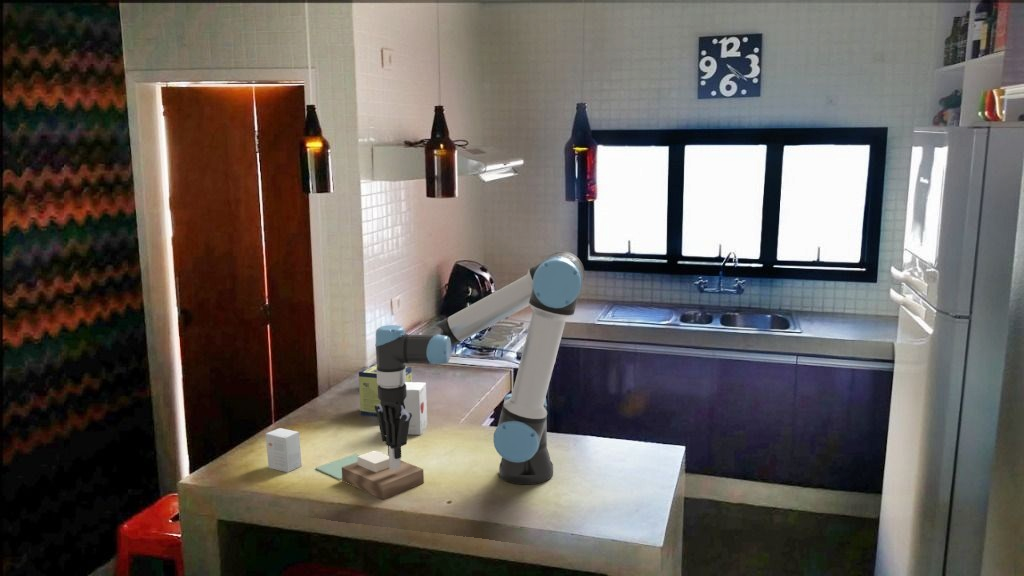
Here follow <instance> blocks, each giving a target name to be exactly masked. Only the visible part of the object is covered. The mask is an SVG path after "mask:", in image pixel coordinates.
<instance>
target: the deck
mask: <svg viewBox="0 0 1024 576" xmlns="http://www.w3.org/2000/svg"><path fill="white" fill-rule="evenodd" d="M384 454H385V453H384ZM385 455H388V454H385ZM388 456H389V455H388ZM341 481H342V482H343V481H344V483H345V482H347V483H346V484H348V483H349V484H348V485H350V484H351V485H350V486H352V485H353V486H352V487H354V486H355V488H356V487H357V489H359V490H361V489H362V490H361V491H363V492H365V491H366V492H365V493H368V494H370V495H372V496H374V497H377V498H379V499H381V500H386V499H388V498H390V497H392V496H395V495H397V494H400V493H403V492H405V491H408V490H411V489H413V488H415V487H417V486H420V485H422V484H424V483H425V480H424V468H421V467H420V466H419V467H418V466H416V465H413V464H411V463H410V462H407V461H404V460H401V468H399V469H397V470H394V471H392V470H390V468H386V469H384V470H381V471H378V472H373V471H371V470H369V469H366V468H364V467H361V466H359V465H358V462H355V463H353V464H350V465H347V466H344V467H342V480H341Z"/></svg>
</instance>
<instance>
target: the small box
mask: <svg viewBox="0 0 1024 576" xmlns="http://www.w3.org/2000/svg"><path fill="white" fill-rule="evenodd" d="M265 443H266V453H267V455H266V456H267V466H268V468H269V469H272V470H276V471H281V472H284V473H290V472H292V471H294V470H296V469H298V468H300V467H302V455H301V454H302V452H301V451H302V450H301V441H300V432H299V431H296V430H292V429H291V430H290V429H286V428H282V427H281V428H280V427H279V428H278V427H277V428H276V429H274V430H271V431H268V432H266V433H265Z"/></svg>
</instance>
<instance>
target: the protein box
mask: <svg viewBox="0 0 1024 576" xmlns="http://www.w3.org/2000/svg"><path fill="white" fill-rule="evenodd" d="M405 372H406V382H413V379H412V378H413V377H412V376H413V375H412V367H411V366H406V368H405ZM358 386H359V387H358V389H359V391H358V392H359V407H360V408H359V410H360V412H359V414H360V416H368V417H376V418H378V417H377V413H376V411H375V406H377V405H379V404H380V401H381V400H379V399H378V383H377V363H376V364H373V363H372V364H371V365H369V366H367V367H366V368H364V369H362V370H360V371H358Z"/></svg>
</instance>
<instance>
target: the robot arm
mask: <svg viewBox="0 0 1024 576" xmlns="http://www.w3.org/2000/svg"><path fill="white" fill-rule="evenodd" d="M584 281H585V268H584V265H583V263H582V261H581V259H580V258H579V257H577V255H575V254H573V253H571V252H568V251H557V252H553V253H551V254H549V255H548V256H547V257H546V258H545V259H543V260H542V261H540V262H538V264H536V265H534V266H533V267H531V268H529V269H528V270H527V274H526V275H524V276H522V277H520V278H518V279H517V280H515V281H512V282H511V283H509V284H507V285H505V286H503V287H501V288H500V289H498V290H496V291H494V292H493V293H491V294H489V295H487V296H485V297H483V298H481V299H479V300H478V301H475V302H474V303H472V304H470V305H469V306H466V307H464V308H463V309H461V310H459V311H457V312H455V313H454V314H452V315H450V316H448V317H447V318H445V319H443V320H440V321H436V322H435V323H433V324H431V325H430V327H428V329H426V331H425V332H424V333H422V334H408V333H406V332H405V329H404V327H403V326H402V325H397V324H387V325H383V326H380V327H378V328H377V329H376V331H375V344H374V346H375V356H376V364H377V383H378V399H379V400H381V401H380V404H379V405H377V406H375V411H376V413H377V417H376V418H377V421H378V426H379V431H380V437H381V442H385V443H386V445H387V455H389V468H390V470H392V471H394V470H397V469H399V468H401V461H402V459H401V458H402V447H403V446H406V445H407V442H408V437H409V436H408V435H409V434H408V429H409V422H410V419H411V417H412V414H411V413H407V412H406V410H405V405H404V400H405V398H406V396H407V393H406V384H405V382H406V372H405V368H406V367H407V366H406V364H418V365H419V364H420V365H421V364H422V365H434V366H436V365H446V364H448V363H449V362H450V359H451V357H452V356H451V355H452V347H453V346H455V345H457V344H459V343H460V342H463V341H465V340H467V339H468V338H471V337H472V336H474V335H476V334H478V333H480V332H481V331H483V330H485V329H487V328H489V327H491V326H493V325H495V324H497V323H499V322H500V321H503V320H505V319H507V318H509V317H511V316H512V315H514V314H516V313H518V312H519V311H522V310H524V309H525V308H527V307H529V306H530V308H531V310H532V314H531V318H530V323H529V326H528V329H527V334H526V339H525V341H524V345H523V349H522V354H521V358H520V360H519V361H520V362H519V365H518V370H517V372H516V373H517V374H516V377H515V381H514V385H513V389H512V393H508V394H506V395H505V396H504V398H503V401H504V402H503V405H502V408H501V412H500V415H499V419H498V423H497V426H496V429H495V430H494V431H493V438H492V439H493V446H494V449H495V450H496V452H497V453H498V455H500V456H501V459H500V463H499V464H498V467H499V468H498V471H499V472H498V473H499V474H498V475H499V477H500V478H501V479H502V480H503V481H505V482H509V483H511V484H515V485H516V484H518V485H534V484H540V483H543V482H546V481H548V480H550V479H551V478H552V477H554V464H553V462H552V460H551V455H550V453H549V449H548V446H547V445H548V443H547V442H548V441H547V440H548V436H547V434H548V433H547V432H548V431H547V428H548V427H547V426H548V425H547V421H548V420H547V415H548V411H547V407H548V404H547V398H546V396H547V394H548V390H549V386H550V382H551V378H552V375H553V370H554V366H555V363H556V359H557V355H558V351H559V348H560V343H561V341H562V336H563V332H564V330H565V325H566V323H567V322H566V321H567V319H569V318H571V317H573V316H575V315H574V314H575V310H576V307H577V303H578V300H579V296H580V293H581V292H582V291H581V290H582V286H583V283H584ZM405 333H406V334H405Z"/></svg>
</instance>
